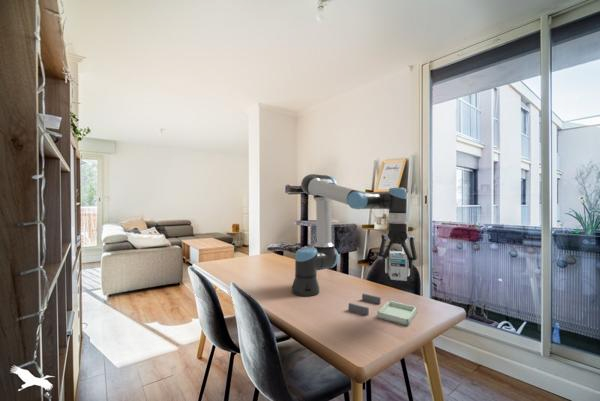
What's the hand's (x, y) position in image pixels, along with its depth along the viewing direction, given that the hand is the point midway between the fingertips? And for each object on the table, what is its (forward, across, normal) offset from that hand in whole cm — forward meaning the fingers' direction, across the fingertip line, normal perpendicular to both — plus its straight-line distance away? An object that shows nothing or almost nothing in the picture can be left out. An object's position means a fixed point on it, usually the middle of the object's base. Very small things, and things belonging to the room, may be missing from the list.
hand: (397, 274), depth 118 cm
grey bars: (+18, -15, 0) cm, 23 cm away
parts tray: (+18, 0, 0) cm, 18 cm away
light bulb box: (+2, 0, 0) cm, 2 cm away
